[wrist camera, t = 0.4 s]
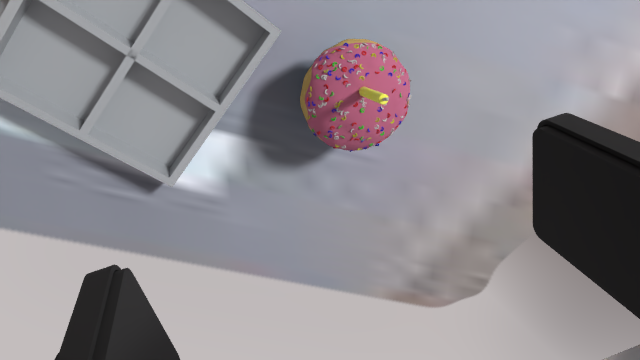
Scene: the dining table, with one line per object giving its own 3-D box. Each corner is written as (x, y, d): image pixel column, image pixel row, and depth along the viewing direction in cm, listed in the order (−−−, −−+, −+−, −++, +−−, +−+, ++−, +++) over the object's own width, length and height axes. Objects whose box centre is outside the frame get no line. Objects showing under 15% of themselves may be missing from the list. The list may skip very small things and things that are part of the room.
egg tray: (-38, -220, 25) (-59, -236, 23) (276, 26, 35) (281, 31, 33) (-143, 5, 28) (-171, 9, 26) (173, 174, 38) (172, 187, 36)
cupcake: (275, 53, 36) (309, 92, 26) (372, 14, 37) (445, 36, 26) (310, 145, 40) (351, 211, 30) (397, 109, 41) (467, 161, 30)
